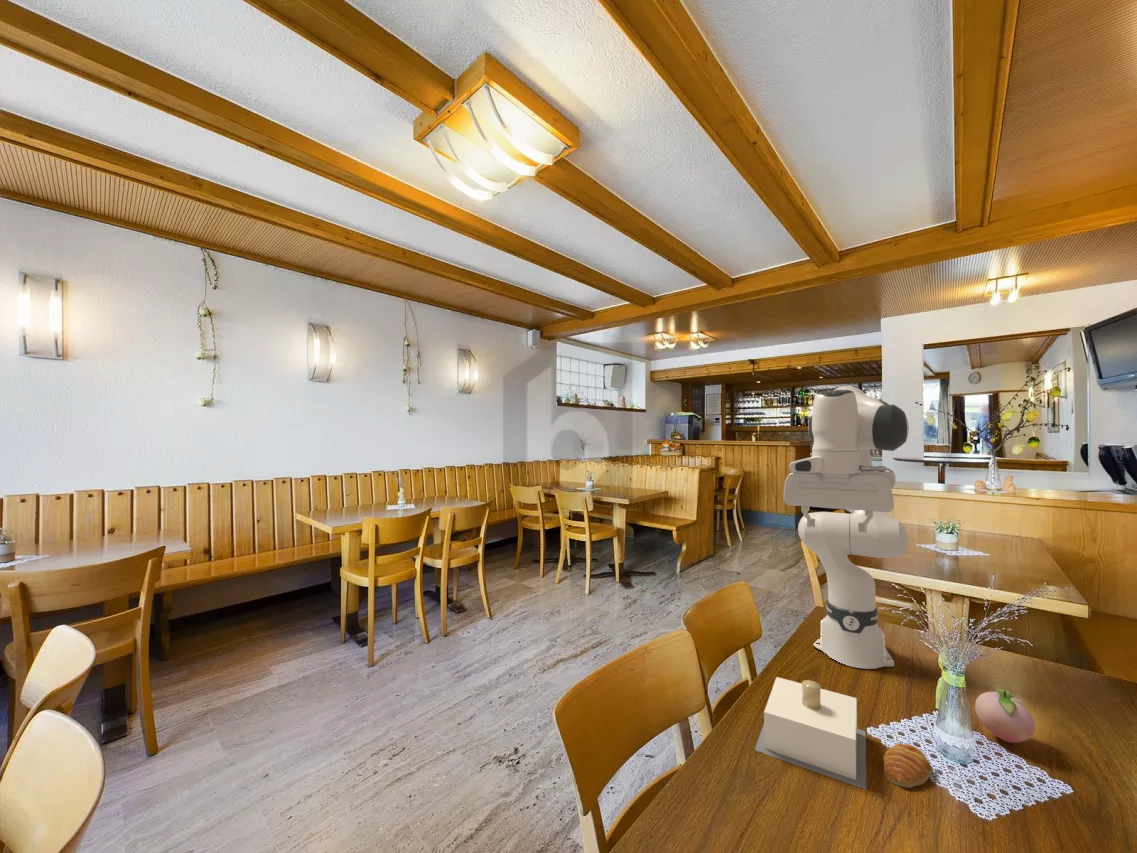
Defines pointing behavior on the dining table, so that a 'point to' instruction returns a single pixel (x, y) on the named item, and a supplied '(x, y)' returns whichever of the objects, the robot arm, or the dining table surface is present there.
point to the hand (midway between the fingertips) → (836, 529)
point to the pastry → (906, 766)
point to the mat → (860, 769)
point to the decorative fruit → (1004, 716)
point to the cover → (812, 726)
